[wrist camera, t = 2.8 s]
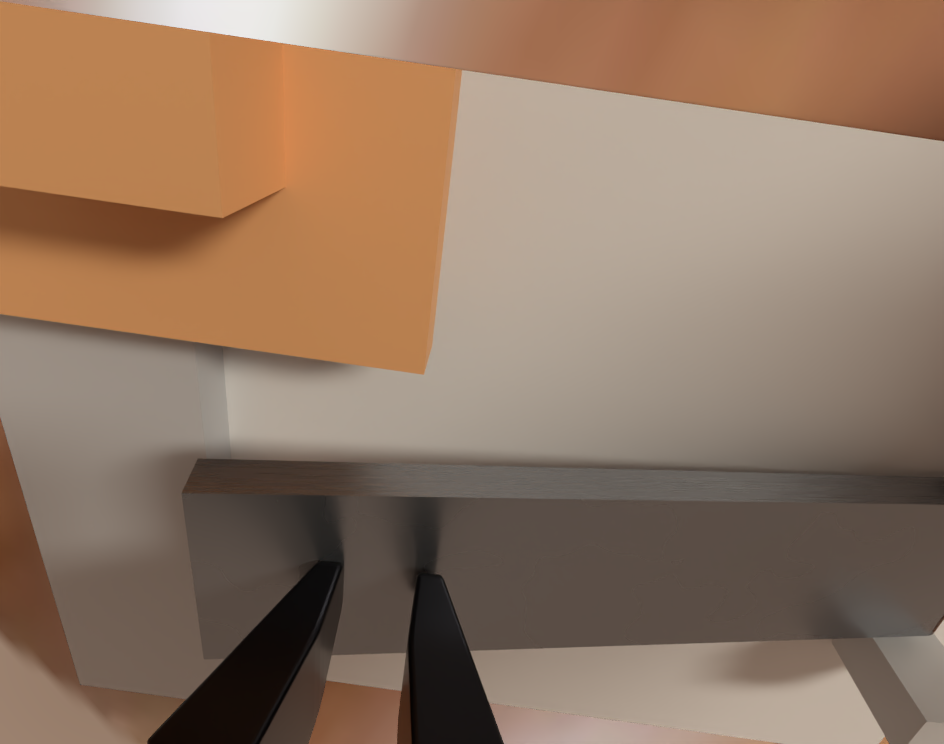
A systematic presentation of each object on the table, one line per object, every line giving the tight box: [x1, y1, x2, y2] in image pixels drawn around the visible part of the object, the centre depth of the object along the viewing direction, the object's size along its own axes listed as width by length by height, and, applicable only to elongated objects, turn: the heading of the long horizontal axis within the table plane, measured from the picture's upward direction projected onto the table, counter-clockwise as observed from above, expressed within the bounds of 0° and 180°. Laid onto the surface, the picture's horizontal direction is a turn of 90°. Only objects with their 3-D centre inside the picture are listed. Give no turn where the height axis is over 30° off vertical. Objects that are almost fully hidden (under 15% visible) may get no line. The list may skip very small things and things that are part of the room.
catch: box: [0, 2, 462, 375], centre depth 7 cm, size 7×4×3 cm, turn 82°
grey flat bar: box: [181, 458, 944, 659], centre depth 10 cm, size 15×4×1 cm, turn 83°
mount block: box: [0, 70, 944, 744], centre depth 12 cm, size 21×15×6 cm
